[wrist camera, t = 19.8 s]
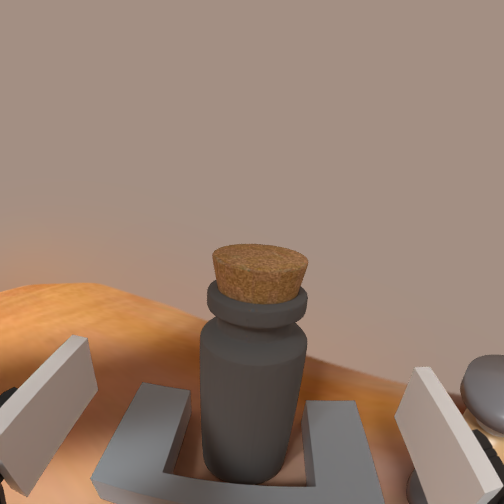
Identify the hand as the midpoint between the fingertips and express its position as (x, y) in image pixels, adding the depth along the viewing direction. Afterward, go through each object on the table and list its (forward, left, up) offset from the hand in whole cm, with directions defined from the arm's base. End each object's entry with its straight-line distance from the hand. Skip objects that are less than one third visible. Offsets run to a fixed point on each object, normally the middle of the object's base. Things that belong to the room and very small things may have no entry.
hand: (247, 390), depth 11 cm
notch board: (0, +5, -11) cm, 12 cm away
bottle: (0, +6, -11) cm, 13 cm away
